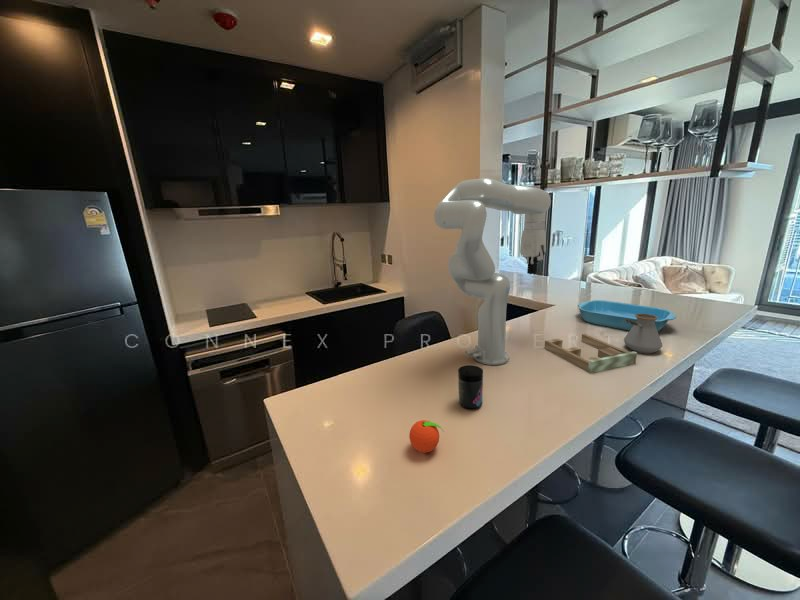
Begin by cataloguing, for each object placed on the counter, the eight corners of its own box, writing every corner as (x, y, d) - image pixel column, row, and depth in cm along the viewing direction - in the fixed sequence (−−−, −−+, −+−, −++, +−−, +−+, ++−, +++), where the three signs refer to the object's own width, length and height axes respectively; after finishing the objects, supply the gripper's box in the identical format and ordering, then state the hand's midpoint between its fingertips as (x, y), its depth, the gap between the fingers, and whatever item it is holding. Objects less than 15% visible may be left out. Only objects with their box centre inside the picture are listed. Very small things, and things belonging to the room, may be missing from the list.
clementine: (443, 438, 80) (442, 412, 78) (445, 459, 73) (445, 431, 71) (410, 439, 80) (408, 413, 79) (409, 459, 74) (408, 432, 72)
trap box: (590, 373, 107) (592, 362, 106) (544, 348, 127) (545, 338, 126) (635, 363, 111) (637, 352, 110) (583, 340, 132) (584, 331, 131)
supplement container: (470, 413, 89) (470, 378, 86) (453, 402, 94) (452, 369, 92) (487, 405, 92) (488, 371, 90) (470, 395, 98) (470, 362, 95)
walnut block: (609, 366, 111) (610, 355, 110) (597, 360, 115) (598, 349, 114) (621, 363, 112) (622, 353, 111) (608, 358, 117) (609, 347, 116)
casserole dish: (568, 321, 155) (569, 306, 153) (586, 310, 169) (588, 297, 167) (666, 341, 128) (669, 323, 126) (678, 326, 142) (681, 310, 140)
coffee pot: (631, 341, 129) (636, 304, 125) (667, 350, 120) (673, 310, 116) (602, 355, 118) (607, 315, 115) (639, 366, 109) (645, 324, 105)
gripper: (514, 226, 133) (512, 271, 138) (539, 227, 119) (536, 277, 124) (530, 225, 135) (528, 269, 140) (556, 226, 121) (553, 275, 126)
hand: (531, 273), depth 132 cm, fingers closed
